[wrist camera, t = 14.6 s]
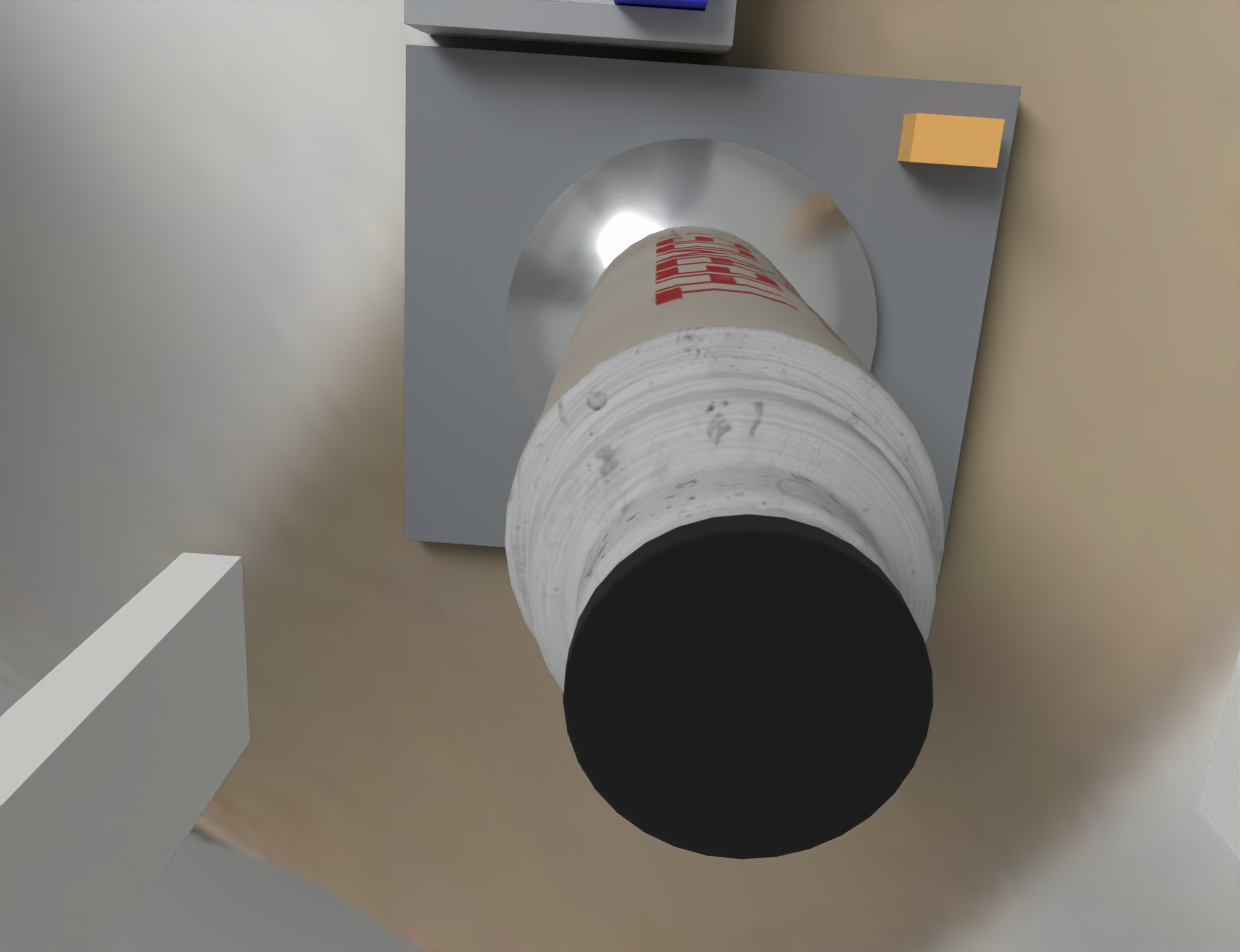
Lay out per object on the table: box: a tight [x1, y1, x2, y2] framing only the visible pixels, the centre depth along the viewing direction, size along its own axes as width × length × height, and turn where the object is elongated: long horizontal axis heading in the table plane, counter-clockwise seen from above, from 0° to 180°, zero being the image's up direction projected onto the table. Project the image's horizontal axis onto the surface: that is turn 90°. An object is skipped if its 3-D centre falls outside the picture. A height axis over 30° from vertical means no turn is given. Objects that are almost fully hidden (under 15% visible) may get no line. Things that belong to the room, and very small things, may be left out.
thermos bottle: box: [505, 226, 944, 859], centre depth 27 cm, size 8×8×28 cm
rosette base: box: [404, 45, 1021, 579], centre depth 41 cm, size 22×19×4 cm
